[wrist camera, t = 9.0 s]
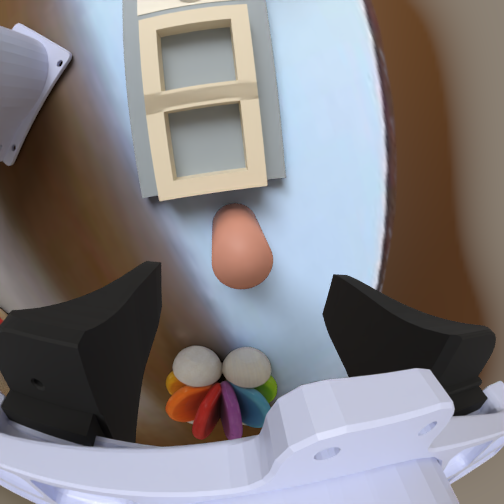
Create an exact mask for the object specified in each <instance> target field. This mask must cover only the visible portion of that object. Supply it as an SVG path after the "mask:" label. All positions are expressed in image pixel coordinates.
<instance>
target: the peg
mask: <svg viewBox="0 0 504 504" xmlns="http://www.w3.org/2000/svg"><path fill="white" fill-rule="evenodd" d="M272 265H273V255H272V252H271V249H270V247H269V245H268V243H267V240H266V238H265V236H264V234H263V232H262V230H261V227H260V225H259V223H258V221H257V219H256V217H255V215H254V213H253V212H252V210H251V209H250V208H248V207H247V206H245V205H242V204H238V203H232V204H228V205H225V206H223V207H222V208H221V209H219V210H218V211H217V213H216V214H215V216H214V219H213V226H212V268H213V271H214V274H215V275H216V277H217V278H218V279H219V281H220V282H222V283H223V284H225V285H226V286H228V287H231V288H235V289H248V288H252V287H254V286H257V285H258V284H260V283H261V282H263V281H264V280H265V279H266V278H267V276H268V275H269V273H270V271H271V269H272Z"/></svg>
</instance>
